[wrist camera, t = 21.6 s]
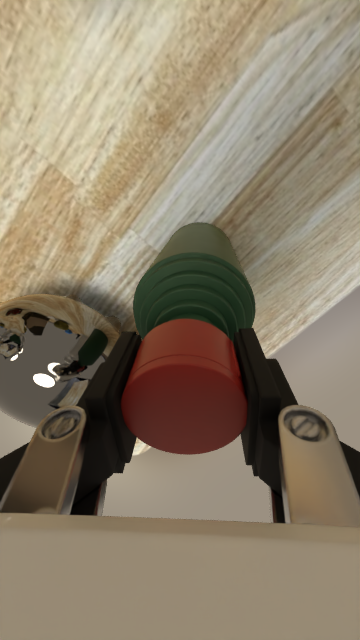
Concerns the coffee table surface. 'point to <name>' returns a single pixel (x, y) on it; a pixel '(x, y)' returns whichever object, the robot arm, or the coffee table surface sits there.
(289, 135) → the coffee table surface
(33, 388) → the piggy bank
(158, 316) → the sauce bottle
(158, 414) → the cap
